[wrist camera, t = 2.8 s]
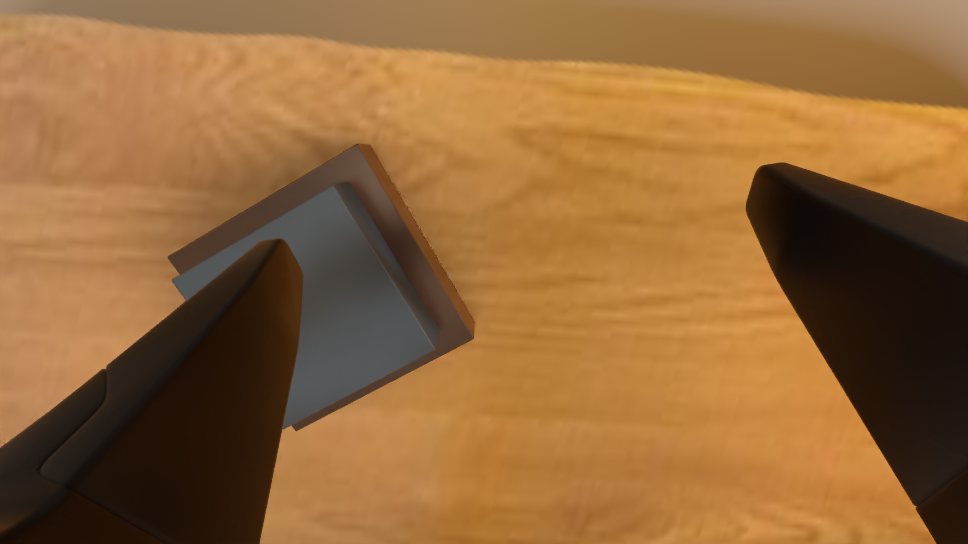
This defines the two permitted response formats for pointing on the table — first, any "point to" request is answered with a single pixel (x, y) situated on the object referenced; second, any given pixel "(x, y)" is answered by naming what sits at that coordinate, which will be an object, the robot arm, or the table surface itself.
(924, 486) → the robot arm
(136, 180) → the table surface
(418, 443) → the table surface
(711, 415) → the table surface
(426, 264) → the block stack
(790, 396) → the table surface
